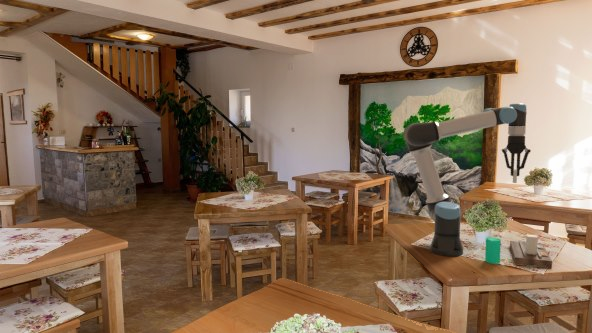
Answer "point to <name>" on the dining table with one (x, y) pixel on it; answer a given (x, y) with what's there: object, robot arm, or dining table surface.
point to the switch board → (530, 255)
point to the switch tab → (531, 244)
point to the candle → (492, 250)
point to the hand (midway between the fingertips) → (514, 182)
